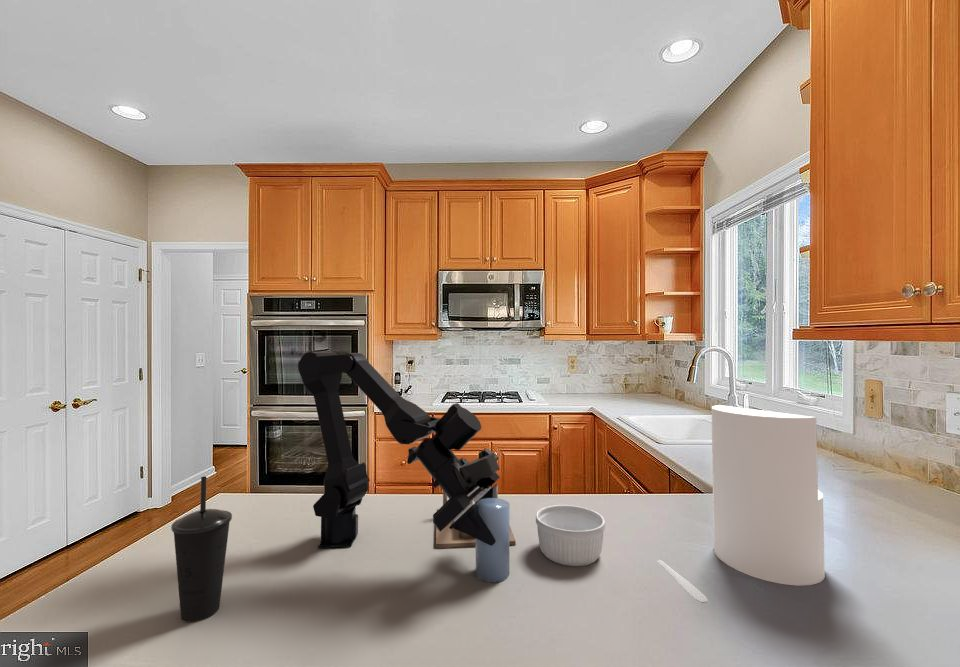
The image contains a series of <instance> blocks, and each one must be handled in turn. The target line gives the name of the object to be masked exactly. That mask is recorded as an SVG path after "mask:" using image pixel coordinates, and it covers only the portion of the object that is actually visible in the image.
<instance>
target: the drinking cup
mask: <svg viewBox="0 0 960 667" xmlns="http://www.w3.org/2000/svg"><path fill="white" fill-rule="evenodd" d="M199 502H200V507H199V510H197V511H196V510H195V511H193V512H190V513H188V514H186V515H184V516H183V517H180V518H178V519H176V520H175V521H174V522H173V523H172V524H171V527H170V528H171V531H172V533H173V538H174V541H173V542H174V551H175V562H176V565H175V566H176V575H177V586H178V598H179V610H180V619H181V621H183V622H185V623H196V622H200V621H203V620H206V619H208V618H210V617H211V616H213V615H214V614H216V613H217V612H218V611H219V610H220V605H221V598H222V587H223V580H224V570H225V562H226V556H227V555H226V554H227V547H228V539H229V538H228V537H229V530H230V522H231V521H232V519H233V514H232V512H231V511H229V510H224V509H219V508H218V509H216V508H207V476H201V477H200V501H199Z"/></svg>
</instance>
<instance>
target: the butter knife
mask: <svg viewBox="0 0 960 667" xmlns="http://www.w3.org/2000/svg"><path fill="white" fill-rule="evenodd" d="M656 561H657V563H658V564H659V565H660V566H662V568H664V569H665V570H666V571H667V572H668V574H670V575H671V576H672V578H673V579H675V581H676V582H677V583H678V584H679V585H680V587H682V588H683V589H684V590H685V591H686V592H687V593H688V594H689V595H690V596H691V597H692V598H693V599H695V600H696V601H698V602H699V603H707V602H708V598H707V596H705V594H703V593H702V592H701V591H700V590H699V589H698V588H697V587H696V586H694V585H693V584H692V583H691V582H690V581H689V580H688V579H686V578H684V577H683V576H682V575H681V574H679V573H678V572H677V571H675V570H674V569H673V568H671V567H670V566H669V565H668V564H667V563H666V562H664V561H663V560H662V559H658V560H656Z"/></svg>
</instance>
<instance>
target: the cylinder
mask: <svg viewBox="0 0 960 667" xmlns="http://www.w3.org/2000/svg"><path fill="white" fill-rule="evenodd" d="M817 436H818V434H817V417H816V416H810V415H809V416H808V415H802V414H794V413H787V412H780V411H779V412H777V411H771V410H770V411H769V410H762V409H755V408H754V409H753V408H746V407H739V406H731V405H721V404H717V405H712V406H711V456H712V459H711V462H712V463H711V466H712V523H713V524H712V525H713V526H712V527H713V528H712V532H713V534H712V535H713V537H712V538H713V550H714V551H713V552H714V554H715V555H716V557H717V558H718V559H719V560H720V561H722V562H723V563H724V564H725V565H727V566H729V567H731V568H732V569H735V570H736V571H738V572H740V573H743V574H746V575H748V576H750V577H753V578H755V579H756V578H757V579H759V580H763V581H766V582H772V583H776V584H780V585H789V586H790V585H791V586H798V587H799V586H800V587H801V586H812V585H815V584H819V583H821V582H823V580H824V579H825V576H826V570H825V569H826V568H825V565H826V564H825V563H826V562H825V559H826V558H825V526H824V524H825V521H824V520H825V519H824V518H825V517H824V493H823V492H821V490H819V481H818V479H819V478H818V477H819V476H818V473H819V472H818V442H817V441H818V440H817V439H818V437H817Z"/></svg>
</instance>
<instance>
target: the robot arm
mask: <svg viewBox="0 0 960 667" xmlns="http://www.w3.org/2000/svg"><path fill="white" fill-rule="evenodd" d="M297 369H298V372H299V375H300V378H301V381H302V383H303V386H305V388H307V390H308V391H309V393H310V394H311V395H312V396H313V399H314V403H315V408H316V413H317V417H318V423H319V427H320V432H321V437H322V441H323V446H324V451H325V456H326V461H327V468H326V471H325V475H324V478H323V489H324V493H323V494H322V495H321V497H320V498H318V499H317V500H316V501H315V503H313V506H312V508H313V511H314V515H315V516H316V517H320V541H319V542H318V545H317V548H321V549H322V548H327V549H328V548H344V547H345V548H347V547H348V548H349V547H351V546H352V545H353V543H354V542H355V540H356V539H357V537H358V535H359V534H358V533H359V515H358V513H357V512H356V507H357V506H360V505H361V504H362V501H363V498H364V497H365V496H366V494H367V492H368V491H369V482H370V481H371V480H370V478H369V476H368V473H367V465H366V462H362V463H359V462H358V461H357V460H356V459H355V457H354V456H353V452H352V447H351V442H350V437H349V433H348V429H347V424H346V419H345V415H344V412H343V407H342V402H341V397H340V394H339V387H340V385H341V381H342V378H343V373H345V374H346V375H347V376H348V377H349V378H350V379H351V380H352V381H353V383H354V384H355V385H356V386H357V387H358V388H359V390H361V392H362V393H363V394H365V396H366V397H367V398H368V399H369V401H371V402H372V404H373V405H375V407H376V408H377V409H378V410H379V412H381V414H382V416H383V417H384V422H385V423H384V424H385V426H386V428H387V430H388V431H389V433H390V434H391V435H392V437H393V439H394V440H395V441H396V442H397V443H399V444H400V445H410V444H413V443H415V442H417V441H420V440H422V441H421V442H420V443H419V444H418V445H417V446H412V447H410V448H408V450H407V452H408V455H407V461H406V463H407V464H408V465H411V464H412V463H414V462H418V461H419V462H420V463H421V465H422V466H423V467H424V469H425V470H426V472H428V473H429V475H430V476H431V477H432V478H433V480H434V481H433V482H431V485H432V487H433V489H437V487H440V489H441V490H442V492H443V491H444V493H445V494H446V495H447V502H446V503H445V504H444V505H443V504H442V506H441V507H440V508H438V509H439V510H438V511H437V510H436V511H435V512H434V513H433V514H432V524H433V525H434V527H435V529H436V528H437V529H438V530H439V532H441V531H442V530H443V529H444V528H445V527H446V526H447V525H448V524H449V523H450V522H451V521H452V520H453V522H454V523H453V524H452V525H451V526H450V527H449V528H450V529H452V528H453V529H456V530H458V531H461V532H463V533H465V534H468V535H470V536H472V537H474V538H476V539H478V540H480V541H482V542H484V543H486V544H488V545H490V546H492V545H493V544H495V542H496V540H495V539H494V537H493V535H492V533H491V532H490V530H489V529H488V527H487V526H486V524H485V523H484V521H483V520H482V518H481V517H480V515H479V513H478V501H479V500H481V499H485V498H496V497H495V495H496V487H497V486H498V484H497V481H498V480H499V479H500V476H499V474H497V471H500V470H501V469H500V466H499V464H498V461H499V456H498V455H496V454H495V452H494V451H491V450H490V448H486V449H483V450H481V451H480V452H478V458H476V459H475V460H471V461H468V460H467V459H466V458H465V457H461V458H458V457H457V455H456V454H455V453H454V452H453V451H452V450H455V451H460V450H461V449H463V448H464V447H465V446H466V445H467V444H468V442H470V441H471V440H472V439H473V438H474V437H475V436H476V435H477V434H478V433H479V432H480V431H481V430H482V423H481V421H480V420H479V418H478V417H477V416H476V414H474V413H473V412H471V411H470V410H468V409H467V408H465V407H462V405H461V404H459V403H458V402H455V403H453V404H452V405H450V407H449V408H448V409H447V411H446V412H445V414H444V415H442V416H441V418H438V417H435V416H434V417H433V416H430V415H429V413H428V412H426V411H425V410H424V409H422V407H420V406H418V405H417V404H416V403H414V402H411V401H409V400H407V399H406V398H404V397H403V396H401V395H400V393H398V392H397V391H396V389H394V388H393V387H392V386H391V384H390V383H389V382H388V381H387V380H386V379H385V378H384V377H383V376H382V375H381V373H379V372H378V371H377V370H376V368H374V366H373V365H372V364H371V363H370V362H369V361H368V359H367V357H366V356H365V355H364V354H363V353H360V352H348V353H344V354H336V353H335V352H333V351H308V352H306V353H304V354H303V355H302V356H301V358H300V360H299V361H298V363H297ZM434 433H435V434H434ZM432 434H434V435H433V436H432V437H431V438H430V437H427V436H429V435H432ZM471 500H473V502H474V503H473V504H472V503H471V502H470V501H471Z"/></svg>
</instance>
